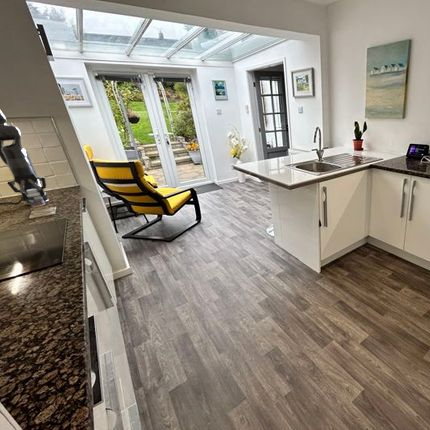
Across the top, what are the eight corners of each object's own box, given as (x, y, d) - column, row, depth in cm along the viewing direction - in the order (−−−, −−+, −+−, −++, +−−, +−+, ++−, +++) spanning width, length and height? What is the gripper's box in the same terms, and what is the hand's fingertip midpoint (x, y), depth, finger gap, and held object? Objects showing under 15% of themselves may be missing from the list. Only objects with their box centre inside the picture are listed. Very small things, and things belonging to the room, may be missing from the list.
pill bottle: (29, 206, 141) (22, 190, 137) (42, 203, 145) (34, 188, 142) (35, 207, 139) (27, 191, 136) (47, 204, 144) (40, 188, 140)
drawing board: (32, 211, 148) (31, 210, 148) (56, 207, 154) (55, 206, 154) (29, 219, 137) (28, 218, 137) (55, 214, 143) (54, 213, 143)
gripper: (40, 163, 141) (53, 193, 148) (0, 167, 132) (16, 199, 139) (39, 165, 136) (53, 196, 142) (-3, 169, 127) (14, 202, 134)
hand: (35, 197), depth 141 cm, fingers closed on pill bottle, 5 cm apart
